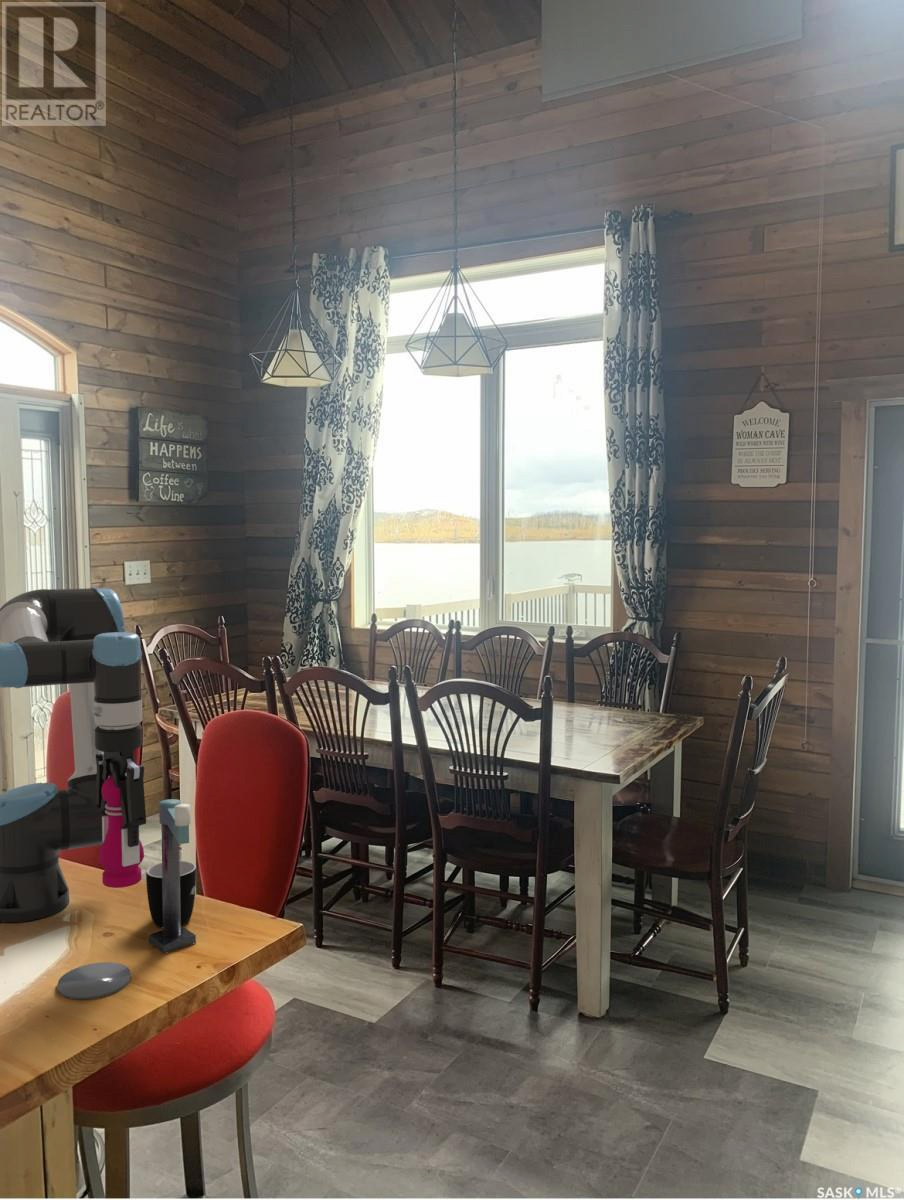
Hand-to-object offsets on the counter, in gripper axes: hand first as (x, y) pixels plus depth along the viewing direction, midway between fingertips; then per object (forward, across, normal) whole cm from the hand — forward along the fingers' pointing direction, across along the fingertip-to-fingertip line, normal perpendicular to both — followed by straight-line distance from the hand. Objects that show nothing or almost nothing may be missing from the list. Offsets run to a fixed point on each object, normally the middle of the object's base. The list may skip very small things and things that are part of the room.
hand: (121, 857), depth 155 cm
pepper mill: (+4, 0, 0) cm, 4 cm away
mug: (+18, -10, +14) cm, 25 cm away
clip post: (+18, 0, +9) cm, 20 cm away
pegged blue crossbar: (-4, +6, +7) cm, 10 cm away
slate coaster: (+18, +5, -7) cm, 20 cm away
